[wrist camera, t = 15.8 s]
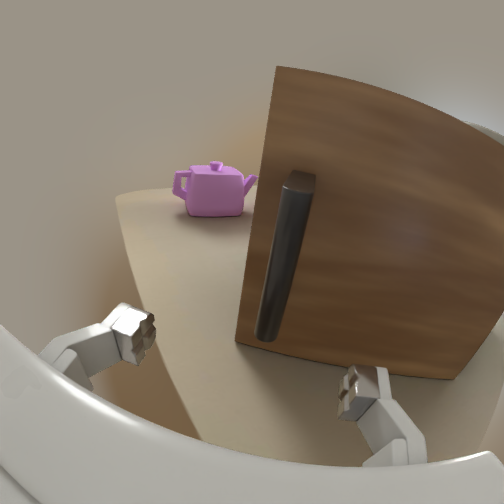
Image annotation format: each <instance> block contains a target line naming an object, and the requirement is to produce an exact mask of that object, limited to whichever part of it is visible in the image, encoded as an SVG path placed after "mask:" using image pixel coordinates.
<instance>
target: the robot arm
mask: <svg viewBox="0 0 504 504" xmlns="http://www.w3.org/2000/svg"><path fill="white" fill-rule="evenodd" d="M154 321H155V319H154V315H153V314H152V313H149V312H147V311H144V310H141V309H139V308H136V307H134V306H131V305H128V304H126V303H124V302H123V303H120V304H119V305H118V306H117V307H116V308H115V309H114V310H113V311H112V312H111V313H110V315H109V316H108V317H107V318H106V319H105V320H104V321H103V322H102V323H101V324H99V323H97V324H94V325H91V326H88V327H85V328H82V329H79V330H76V331H73V332H70V333H67V334H64V335H62V336H58V337H55V338H54V339H53V340H52V341H51V342H50V343H49V344H48V345H47V346H46V347H45V348H44V349H43V350H42V351H41V352H40V353H39V355H38V356H37V355H36V354H35V353H33V352H32V351H31V350H30V349H28V348H27V347H26V346H25V345H23V344H22V343H21V342H20V341H19V340H18V339H16V338H15V337H14V336H13V335H12V334H11V333H10V332H8V331H7V330H6V329H5V328H4V327H3V326H2V325H1V324H0V504H504V465H503V464H502V463H501V462H500V460H499V459H498V458H497V457H496V456H495V455H494V454H493V453H492V452H491V451H483V452H479V453H475V454H471V455H467V456H463V457H458V458H453V459H448V460H443V461H437V462H430V463H428V458H427V449H426V440H425V436H424V435H423V434H422V432H421V431H420V430H419V429H418V427H417V426H416V425H415V424H414V422H413V421H412V420H411V419H410V417H409V416H408V415H407V414H406V413H405V411H404V410H403V409H402V408H401V406H400V405H399V404H398V403H397V401H396V400H392V394H391V387H390V381H389V375H388V370H387V368H383V367H374V366H367V365H360V364H351V365H350V367H349V368H348V374H347V375H345V376H343V378H342V380H341V382H340V385H339V390H338V398H339V399H340V400H341V402H340V404H339V405H338V419H340V420H348V421H357V422H356V423H357V425H358V427H359V429H360V430H361V432H362V434H363V436H364V438H365V440H366V442H367V443H368V445H369V447H370V449H371V451H372V453H373V454H374V455H373V456H371V457H370V458H369V459H367V460H366V461H364V462H363V463H362V467H340V466H325V465H314V464H305V463H297V462H289V461H283V460H277V459H271V458H266V457H261V456H256V455H252V454H247V453H243V452H239V451H235V450H231V449H227V448H223V447H220V446H216V445H213V444H210V443H206V442H203V441H200V440H197V439H194V438H191V437H188V436H185V435H182V434H180V433H177V432H175V431H172V430H169V429H167V428H164V427H162V426H159V425H157V424H155V423H152V422H150V421H147V420H145V419H143V418H141V417H139V416H137V415H134V414H132V413H130V412H128V411H126V410H124V409H122V408H120V407H118V406H116V405H114V404H112V403H110V402H108V401H107V400H105V399H103V398H101V397H99V396H98V395H96V394H94V393H92V390H93V385H92V383H91V382H90V380H89V377H91V376H93V375H95V374H97V373H99V372H101V371H102V370H104V369H106V368H108V367H110V366H112V365H114V364H115V363H118V362H119V361H121V359H122V360H124V361H127V362H129V363H132V364H134V365H137V366H139V364H140V363H141V361H142V360H143V359H144V357H145V350H148V349H150V348H151V346H152V345H153V343H154V341H155V338H156V328H155V327H154V325H153V322H154Z"/></svg>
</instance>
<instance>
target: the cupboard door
mask: <svg viewBox="0 0 504 504" xmlns="http://www.w3.org/2000/svg"><path fill="white" fill-rule="evenodd" d="M503 311H504V145H502V144H501V143H499V142H497V141H496V140H494V139H493V138H491V137H489V136H488V135H486V134H484V133H483V132H481V131H479V130H477V129H476V128H474V127H472V126H470V125H468V124H466V123H464V122H462V121H460V120H459V119H456V118H454V117H452V116H450V115H448V114H446V113H444V112H442V111H440V110H437V109H435V108H433V107H430V106H428V105H426V104H424V103H421V102H419V101H416V100H414V99H411V98H408V97H405V96H403V95H400V94H397V93H394V92H392V91H388V90H385V89H382V88H379V87H376V86H373V85H369V84H365V83H362V82H358V81H355V80H351V79H347V78H343V77H339V76H334V75H329V74H324V73H320V72H315V71H309V70H303V69H297V68H290V67H283V66H276V71H275V77H274V83H273V90H272V96H271V103H270V109H269V115H268V122H267V128H266V135H265V142H264V148H263V154H262V161H261V168H260V174H259V180H258V187H257V193H256V200H255V206H254V213H253V220H252V226H251V233H250V240H249V246H248V253H247V260H246V266H245V273H244V280H243V287H242V293H241V300H240V307H239V314H238V321H237V327H236V334H235V341H236V342H240V343H243V344H247V345H250V346H254V347H258V348H262V349H266V350H269V351H273V352H278V353H282V354H286V355H290V356H294V357H299V358H303V359H308V360H313V361H318V362H322V363H328V364H333V365H338V366H344V367H350V365H351V364H360V365H367V366H374V367H383V368H387V370H388V373H389V374H397V375H406V376H415V377H426V378H439V379H455V378H456V377H457V375H458V374H459V373H460V372H461V371H462V370H463V368H464V367H465V366H466V365H467V363H468V362H469V361H470V360H471V358H472V357H473V356H474V354H475V353H476V352H477V350H478V349H479V348H480V346H481V345H482V343H483V342H484V341H485V339H486V338H487V336H488V335H489V333H490V332H491V330H492V329H493V327H494V326H495V324H496V323H497V321H498V320H499V318H500V316H501V315H502V313H503Z"/></svg>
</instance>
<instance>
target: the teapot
mask: <svg viewBox="0 0 504 504" xmlns="http://www.w3.org/2000/svg"><path fill="white" fill-rule="evenodd" d="M222 164H223V163H221V162H218V161H212V162H210V166H209V165H208V166H207V165H191V166H190V167H189V170H186V171H175V175H174V183H173V190H172V192H173V194H174V195H176V196H178V197H180V198H182V199H184V200H185V203H186V207H187V210H188V212H189V214H190V215H191V216H207V217H220V216H238V215H241V212H242V210H243V206H244V197H245V196H246V194H247V193H248V191H249V190H250V188H251V187H252V185H253V184H254V182H255V181H256V179H257V178H258V177H257V176H255V175H252V174H250V176H248V177H247V178H246V179H245V180H244V178H243V177H244V176H243V175H242V174H241V173H240V172H239V171H238V170H236V169H235V168H233V167H229V166H228V167H227V166H222ZM181 177H187V179H186V183H185V189H183V188H181Z"/></svg>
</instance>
